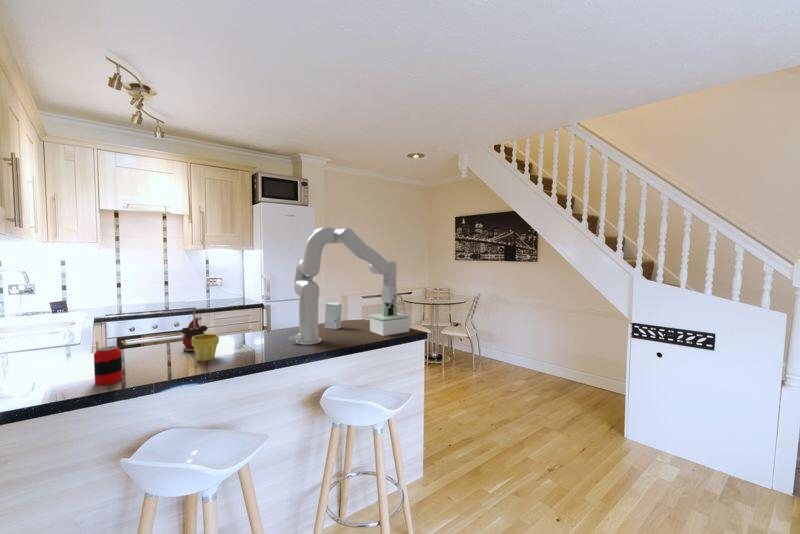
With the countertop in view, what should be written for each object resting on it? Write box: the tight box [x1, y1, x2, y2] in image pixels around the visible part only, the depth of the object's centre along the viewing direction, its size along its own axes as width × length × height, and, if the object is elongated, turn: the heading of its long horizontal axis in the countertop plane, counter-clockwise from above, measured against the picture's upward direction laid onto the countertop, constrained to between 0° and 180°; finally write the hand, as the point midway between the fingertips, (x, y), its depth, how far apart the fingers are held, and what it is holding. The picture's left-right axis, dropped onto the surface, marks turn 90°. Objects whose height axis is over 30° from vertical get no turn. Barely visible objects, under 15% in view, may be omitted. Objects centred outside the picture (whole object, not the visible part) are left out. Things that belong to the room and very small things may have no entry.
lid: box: [368, 305, 410, 321], centre depth 208 cm, size 19×15×7 cm
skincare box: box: [324, 302, 343, 330], centre depth 216 cm, size 8×6×15 cm
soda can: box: [93, 345, 123, 386], centre depth 128 cm, size 8×8×12 cm
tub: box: [369, 316, 410, 337], centre depth 209 cm, size 18×14×8 cm
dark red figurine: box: [180, 310, 208, 352], centre depth 169 cm, size 11×9×18 cm
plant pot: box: [192, 333, 220, 362], centre depth 155 cm, size 10×10×10 cm
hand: (389, 314), depth 208 cm, fingers closed on lid, 2 cm apart
